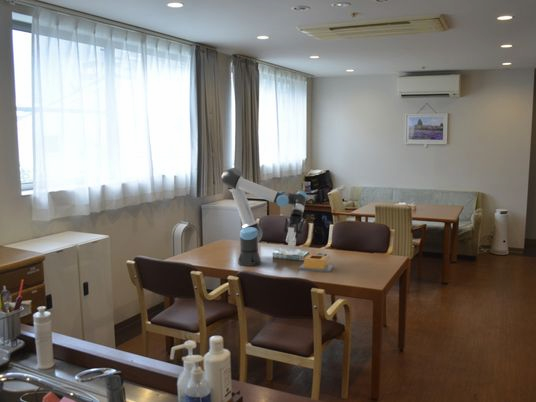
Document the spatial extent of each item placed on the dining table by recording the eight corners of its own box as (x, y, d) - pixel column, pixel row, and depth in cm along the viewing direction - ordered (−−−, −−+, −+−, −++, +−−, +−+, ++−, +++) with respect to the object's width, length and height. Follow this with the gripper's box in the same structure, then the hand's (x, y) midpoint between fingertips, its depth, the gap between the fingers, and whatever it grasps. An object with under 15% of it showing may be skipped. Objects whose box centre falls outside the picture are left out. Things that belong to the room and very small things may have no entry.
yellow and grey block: (298, 269, 318) (298, 258, 317) (303, 265, 329) (303, 253, 328) (329, 272, 311) (329, 260, 310) (333, 267, 323) (333, 256, 322)
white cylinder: (288, 245, 323) (288, 227, 321) (289, 244, 326) (289, 226, 325) (294, 246, 321) (294, 227, 320) (295, 244, 325) (295, 226, 323)
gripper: (311, 216, 333) (304, 245, 320) (286, 214, 339) (278, 243, 325) (309, 209, 327) (302, 239, 314) (284, 208, 333) (276, 237, 320)
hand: (290, 241), depth 320 cm, fingers closed on white cylinder, 4 cm apart
